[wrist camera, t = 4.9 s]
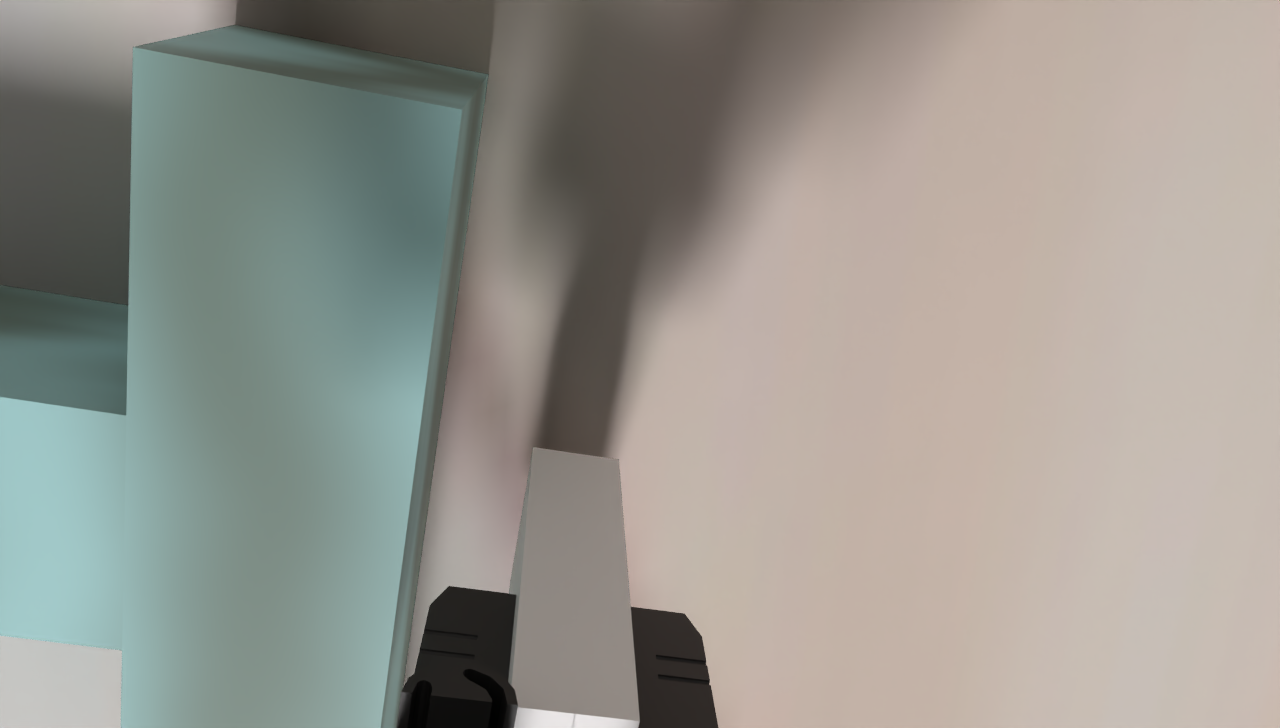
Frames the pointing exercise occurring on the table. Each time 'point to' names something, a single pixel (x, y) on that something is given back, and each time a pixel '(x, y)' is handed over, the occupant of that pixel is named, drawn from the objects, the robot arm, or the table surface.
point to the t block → (247, 387)
